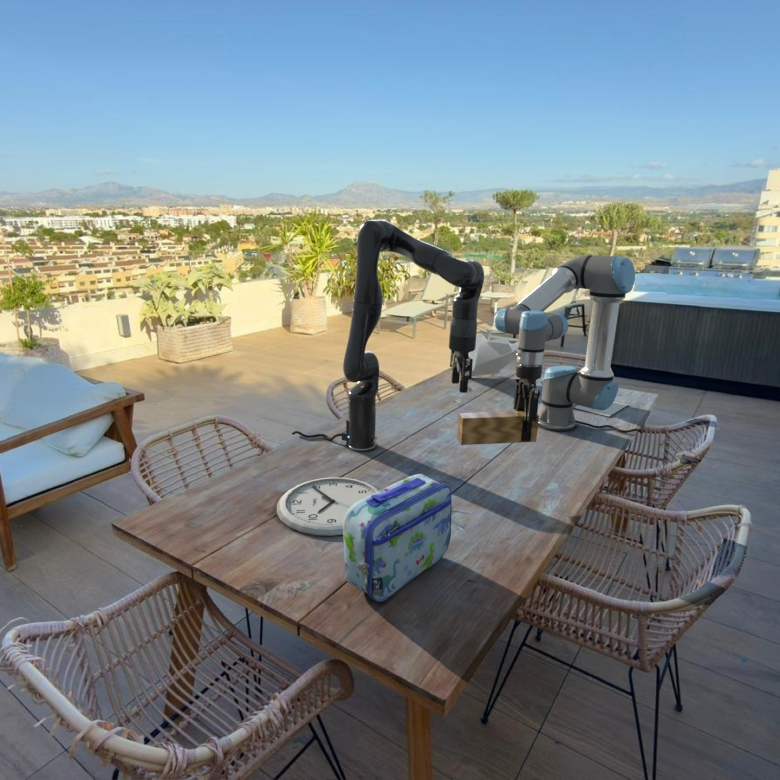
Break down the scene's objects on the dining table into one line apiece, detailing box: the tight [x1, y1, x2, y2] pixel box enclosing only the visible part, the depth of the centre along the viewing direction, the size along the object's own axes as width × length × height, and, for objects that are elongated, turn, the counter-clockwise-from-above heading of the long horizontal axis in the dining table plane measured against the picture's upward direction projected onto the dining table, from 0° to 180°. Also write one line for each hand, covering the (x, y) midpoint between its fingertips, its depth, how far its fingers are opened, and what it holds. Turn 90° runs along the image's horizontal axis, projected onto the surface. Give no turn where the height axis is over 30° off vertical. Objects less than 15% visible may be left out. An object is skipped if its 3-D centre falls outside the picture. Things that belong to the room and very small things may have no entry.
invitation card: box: [573, 400, 629, 418], centre depth 226 cm, size 21×1×15 cm
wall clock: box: [276, 476, 381, 537], centre depth 142 cm, size 30×2×30 cm
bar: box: [456, 410, 539, 446], centre depth 159 cm, size 24×5×9 cm, turn 98°
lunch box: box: [342, 473, 453, 603], centre depth 112 cm, size 26×11×21 cm, turn 134°
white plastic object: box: [465, 306, 544, 387], centre depth 259 cm, size 37×45×31 cm
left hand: (459, 387), depth 153 cm, fingers open, 8 cm apart
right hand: (522, 437), depth 161 cm, fingers closed on bar, 5 cm apart
